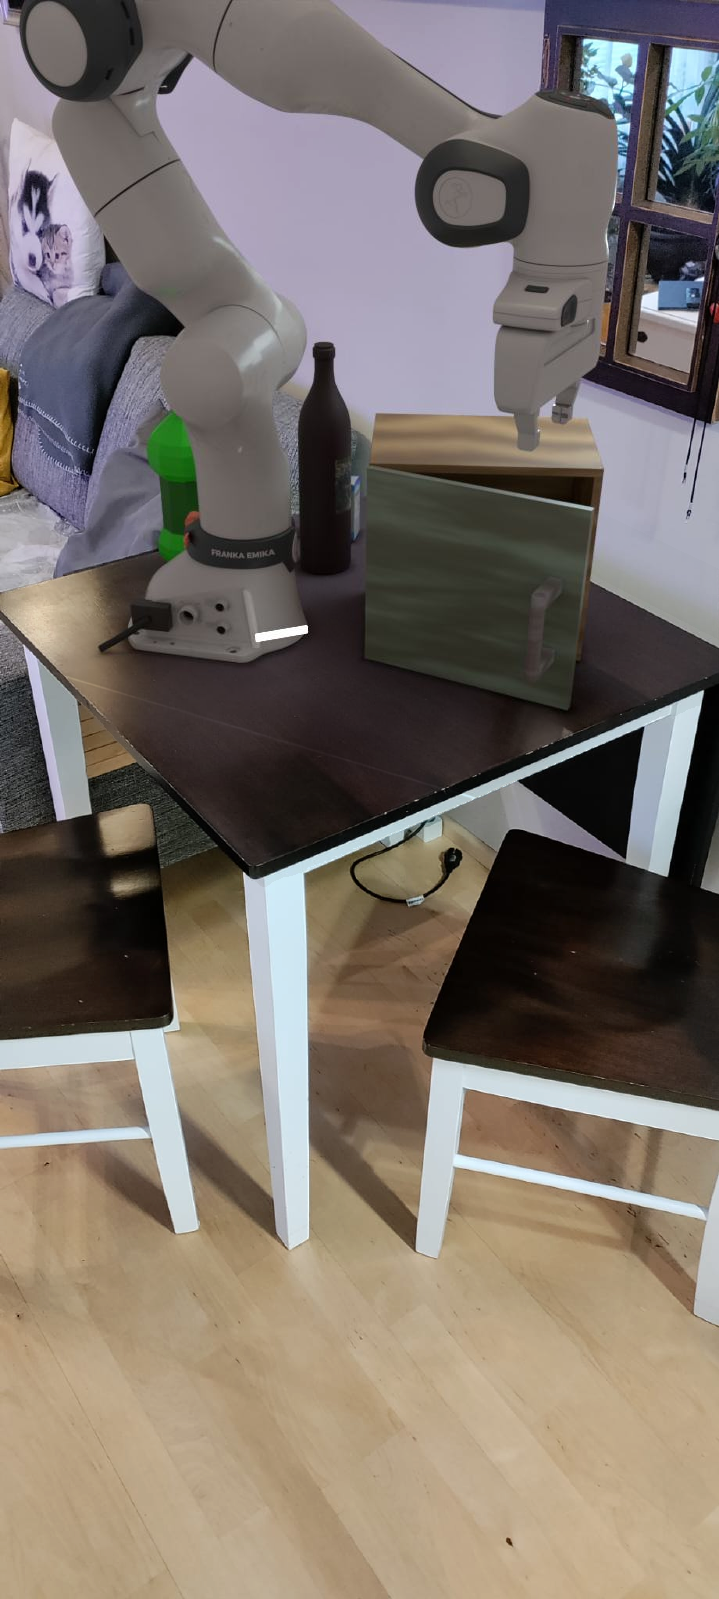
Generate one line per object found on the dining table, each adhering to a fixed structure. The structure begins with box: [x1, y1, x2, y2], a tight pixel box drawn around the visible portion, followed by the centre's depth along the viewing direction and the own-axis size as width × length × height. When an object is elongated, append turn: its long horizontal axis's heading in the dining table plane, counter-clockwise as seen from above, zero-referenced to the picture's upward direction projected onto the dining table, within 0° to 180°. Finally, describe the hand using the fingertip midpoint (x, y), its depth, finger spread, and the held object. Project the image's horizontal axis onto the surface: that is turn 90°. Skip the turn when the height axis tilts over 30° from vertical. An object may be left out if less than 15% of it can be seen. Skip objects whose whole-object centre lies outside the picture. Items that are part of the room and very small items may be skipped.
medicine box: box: [351, 475, 361, 542], centre depth 177 cm, size 8×4×9 cm, turn 80°
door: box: [364, 465, 595, 711], centre depth 134 cm, size 7×26×24 cm, turn 62°
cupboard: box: [368, 412, 605, 661], centre depth 149 cm, size 18×26×24 cm
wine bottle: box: [297, 341, 352, 575], centre depth 162 cm, size 7×7×30 cm
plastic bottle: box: [146, 409, 199, 563], centre depth 162 cm, size 10×10×25 cm
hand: (545, 435), depth 123 cm, fingers open, 8 cm apart
